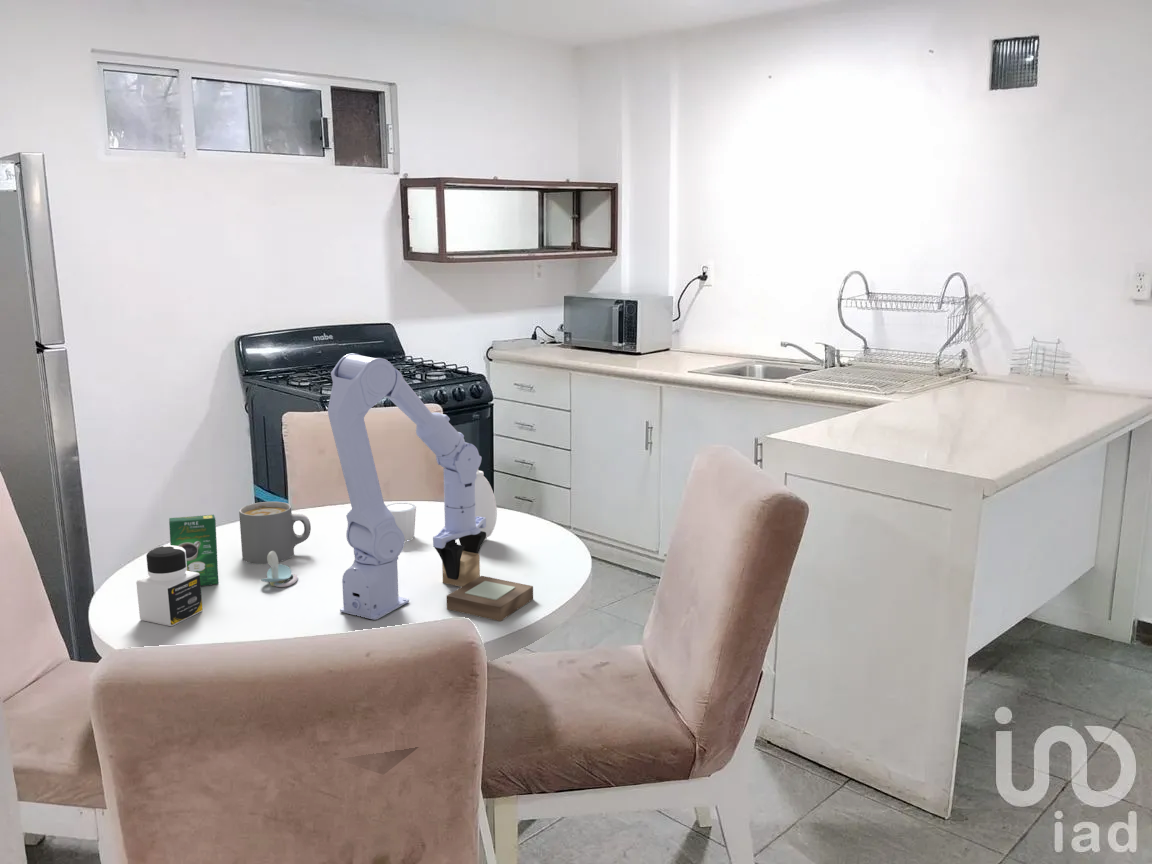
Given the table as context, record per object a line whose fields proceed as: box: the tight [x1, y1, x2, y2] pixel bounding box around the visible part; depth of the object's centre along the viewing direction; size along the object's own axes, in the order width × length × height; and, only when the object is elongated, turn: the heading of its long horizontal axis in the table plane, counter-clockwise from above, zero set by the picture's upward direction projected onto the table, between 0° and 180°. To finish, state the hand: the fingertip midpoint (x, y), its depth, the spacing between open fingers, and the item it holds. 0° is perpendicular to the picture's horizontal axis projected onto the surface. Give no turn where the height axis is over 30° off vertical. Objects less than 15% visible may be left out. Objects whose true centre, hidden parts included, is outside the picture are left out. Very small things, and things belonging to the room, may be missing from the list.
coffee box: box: [168, 514, 220, 587], centre depth 168 cm, size 8×3×13 cm, turn 113°
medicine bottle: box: [135, 544, 203, 627], centre depth 154 cm, size 7×7×12 cm
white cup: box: [386, 502, 417, 542], centre depth 196 cm, size 7×7×7 cm
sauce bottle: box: [475, 469, 498, 541], centre depth 193 cm, size 8×8×18 cm
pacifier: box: [260, 551, 299, 588], centre depth 170 cm, size 7×6×6 cm
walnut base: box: [446, 575, 534, 622], centre depth 160 cm, size 11×11×3 cm
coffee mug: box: [238, 501, 312, 565], centre depth 184 cm, size 13×10×10 cm
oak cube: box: [441, 551, 481, 588], centre depth 171 cm, size 5×5×5 cm
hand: (461, 573), depth 171 cm, fingers closed on oak cube, 5 cm apart
